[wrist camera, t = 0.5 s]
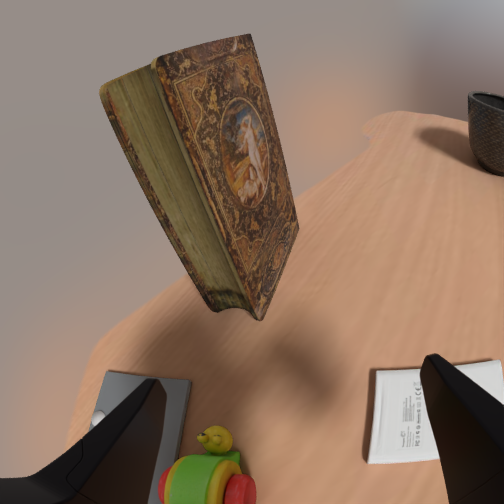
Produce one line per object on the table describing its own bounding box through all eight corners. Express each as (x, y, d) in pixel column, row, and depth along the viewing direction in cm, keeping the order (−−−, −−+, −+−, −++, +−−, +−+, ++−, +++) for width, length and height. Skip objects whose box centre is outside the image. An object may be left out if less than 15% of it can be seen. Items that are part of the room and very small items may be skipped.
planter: (454, 148, 44) (455, 88, 35) (504, 151, 39) (509, 95, 31) (483, 185, 34) (491, 111, 26) (537, 187, 30) (549, 122, 21)
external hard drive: (497, 447, 12) (365, 464, 16) (493, 365, 18) (374, 375, 22) (506, 443, 11) (367, 463, 15) (500, 357, 17) (376, 368, 21)
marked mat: (158, 618, 5) (153, 619, 5) (71, 572, 8) (66, 572, 7) (191, 382, 26) (188, 378, 25) (109, 373, 28) (105, 370, 28)
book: (264, 221, 41) (209, 45, 25) (301, 222, 39) (255, 32, 22) (214, 317, 31) (94, 88, 15) (260, 326, 28) (150, 59, 12)
